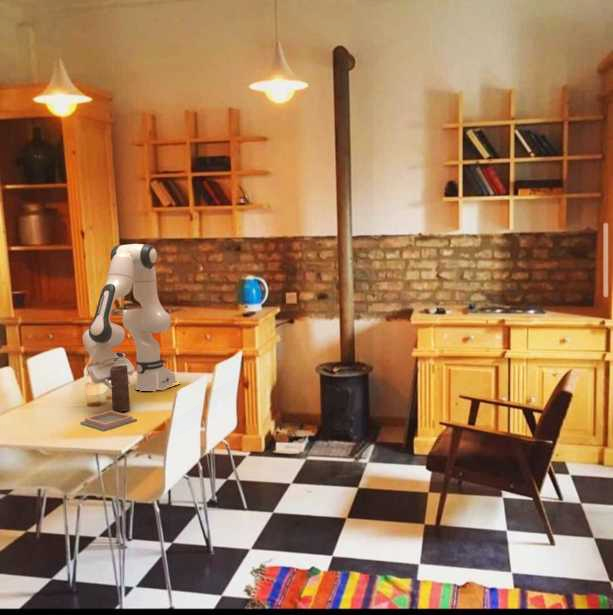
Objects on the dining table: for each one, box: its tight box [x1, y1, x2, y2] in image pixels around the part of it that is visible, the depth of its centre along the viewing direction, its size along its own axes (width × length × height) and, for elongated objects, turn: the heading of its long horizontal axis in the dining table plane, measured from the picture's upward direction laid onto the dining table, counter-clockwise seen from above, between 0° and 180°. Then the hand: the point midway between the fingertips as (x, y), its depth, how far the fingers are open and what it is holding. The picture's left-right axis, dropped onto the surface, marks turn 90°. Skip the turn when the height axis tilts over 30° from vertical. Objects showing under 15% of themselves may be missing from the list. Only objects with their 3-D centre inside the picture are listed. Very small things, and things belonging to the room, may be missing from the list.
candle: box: [110, 365, 131, 413], centre depth 297 cm, size 8×7×20 cm
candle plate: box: [80, 410, 138, 432], centre depth 283 cm, size 16×16×2 cm
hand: (120, 385), depth 296 cm, fingers closed on candle, 7 cm apart
